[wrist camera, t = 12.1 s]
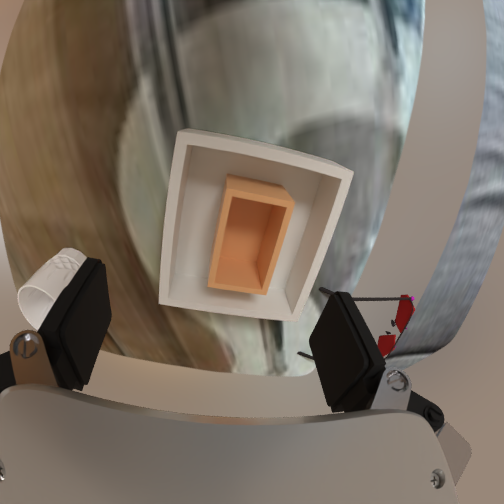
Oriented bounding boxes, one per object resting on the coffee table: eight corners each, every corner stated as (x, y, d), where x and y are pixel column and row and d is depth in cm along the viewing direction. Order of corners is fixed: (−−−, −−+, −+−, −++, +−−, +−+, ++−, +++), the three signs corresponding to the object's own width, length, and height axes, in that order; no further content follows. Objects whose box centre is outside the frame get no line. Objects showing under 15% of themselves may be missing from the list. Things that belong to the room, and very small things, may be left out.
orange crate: (226, 173, 27) (226, 188, 22) (282, 185, 28) (295, 202, 23) (210, 256, 32) (207, 286, 26) (259, 265, 33) (266, 295, 28)
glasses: (376, 346, 46) (387, 365, 41) (296, 352, 43) (302, 375, 39) (407, 287, 39) (422, 305, 35) (318, 285, 37) (329, 308, 33)
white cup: (107, 285, 34) (81, 335, 25) (69, 295, 34) (42, 340, 25) (81, 236, 30) (43, 279, 21) (44, 251, 30) (7, 291, 21)
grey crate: (187, 128, 25) (177, 131, 20) (331, 160, 28) (354, 172, 23) (167, 274, 33) (158, 303, 28) (287, 291, 36) (297, 321, 31)
